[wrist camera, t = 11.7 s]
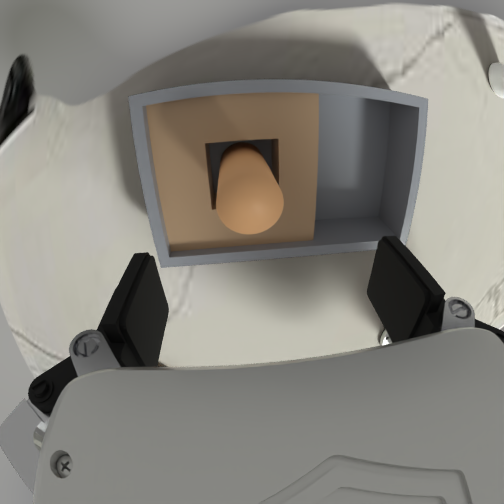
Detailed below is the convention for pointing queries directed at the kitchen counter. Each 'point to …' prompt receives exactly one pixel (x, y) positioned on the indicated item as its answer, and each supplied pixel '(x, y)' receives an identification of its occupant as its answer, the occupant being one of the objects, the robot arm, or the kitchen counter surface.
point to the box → (279, 165)
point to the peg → (247, 190)
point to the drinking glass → (497, 78)
